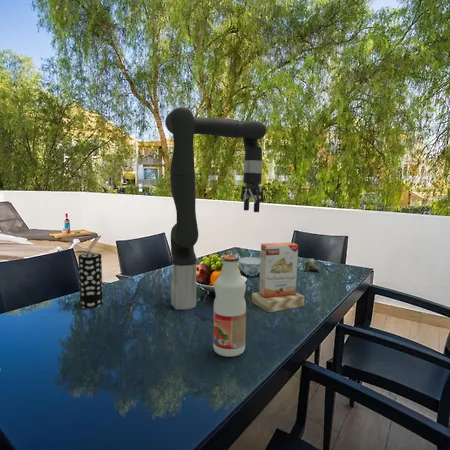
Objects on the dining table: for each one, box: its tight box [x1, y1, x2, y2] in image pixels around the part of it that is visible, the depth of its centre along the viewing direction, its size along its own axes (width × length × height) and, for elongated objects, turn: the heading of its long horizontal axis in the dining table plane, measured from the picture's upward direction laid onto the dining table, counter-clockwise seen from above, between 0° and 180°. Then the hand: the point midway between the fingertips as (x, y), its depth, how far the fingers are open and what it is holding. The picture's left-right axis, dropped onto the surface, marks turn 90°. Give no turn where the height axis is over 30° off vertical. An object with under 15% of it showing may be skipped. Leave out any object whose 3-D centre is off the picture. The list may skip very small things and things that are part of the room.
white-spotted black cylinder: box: [77, 252, 104, 310], centre depth 133 cm, size 8×8×20 cm
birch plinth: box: [251, 291, 305, 313], centre depth 137 cm, size 17×12×4 cm
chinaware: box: [238, 256, 261, 277], centre depth 181 cm, size 15×15×8 cm
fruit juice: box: [212, 254, 247, 357], centre depth 98 cm, size 9×9×28 cm
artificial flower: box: [297, 258, 321, 273], centre depth 190 cm, size 9×22×10 cm, turn 78°
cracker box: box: [258, 242, 299, 297], centre depth 136 cm, size 14×6×21 cm, turn 107°
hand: (251, 211), depth 142 cm, fingers open, 8 cm apart
